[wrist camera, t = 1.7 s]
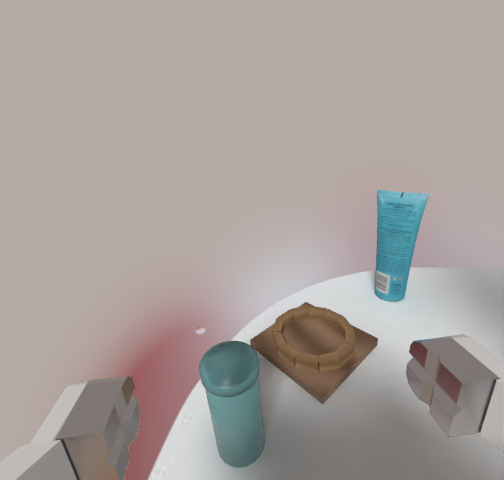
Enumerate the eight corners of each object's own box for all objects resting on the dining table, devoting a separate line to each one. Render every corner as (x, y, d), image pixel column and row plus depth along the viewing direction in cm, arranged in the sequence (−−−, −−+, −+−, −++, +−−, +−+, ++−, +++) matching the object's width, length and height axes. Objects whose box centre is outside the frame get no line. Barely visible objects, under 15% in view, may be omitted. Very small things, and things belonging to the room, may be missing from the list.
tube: (413, 293, 50) (430, 189, 43) (409, 307, 47) (427, 197, 39) (371, 283, 54) (380, 187, 47) (364, 295, 51) (372, 193, 44)
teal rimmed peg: (244, 406, 32) (234, 333, 28) (276, 441, 29) (270, 362, 24) (205, 439, 29) (188, 362, 25) (236, 483, 25) (221, 401, 21)
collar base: (305, 307, 49) (305, 294, 48) (377, 345, 39) (378, 329, 38) (250, 346, 41) (249, 331, 40) (322, 403, 32) (323, 386, 31)
